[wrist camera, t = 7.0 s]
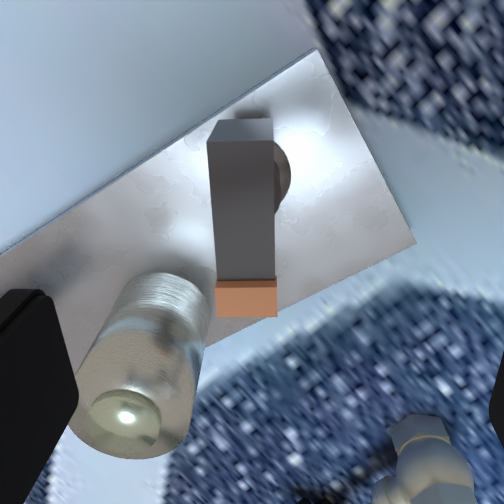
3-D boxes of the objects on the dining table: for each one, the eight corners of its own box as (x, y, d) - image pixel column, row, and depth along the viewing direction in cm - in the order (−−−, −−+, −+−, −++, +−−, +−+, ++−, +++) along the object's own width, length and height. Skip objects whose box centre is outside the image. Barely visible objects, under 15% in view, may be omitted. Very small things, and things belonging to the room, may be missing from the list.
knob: (217, 108, 19) (194, 145, 13) (279, 106, 19) (284, 143, 13) (225, 238, 21) (209, 317, 16) (280, 237, 21) (284, 316, 16)
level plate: (314, 47, 19) (347, 64, 11) (408, 230, 23) (485, 343, 15) (-81, 307, 26) (-239, 435, 18) (40, 415, 30) (-46, 562, 22)
